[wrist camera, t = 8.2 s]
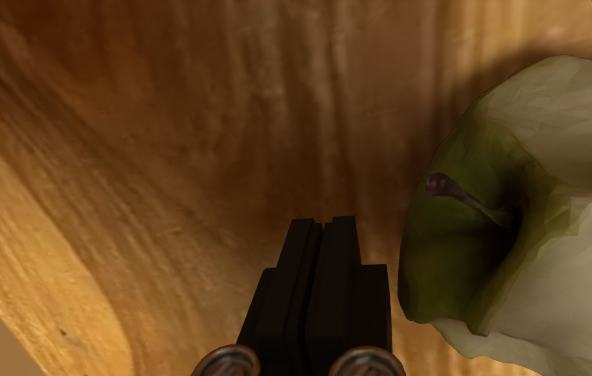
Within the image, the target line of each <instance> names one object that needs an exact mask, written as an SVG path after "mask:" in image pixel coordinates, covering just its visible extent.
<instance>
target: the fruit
mask: <svg viewBox="0 0 592 376" xmlns="http://www.w3.org/2000/svg"><path fill="white" fill-rule="evenodd" d="M397 295H398V299H399V303H400V306H401V308H402V310H403V312H404V314H405V316H406V318H407V319H408V320H410V321H413V320H414V321H415V322H416V323H418V324H425V323H429V324H431V325H433V326H434V327H435V328H436V329H437V330H438V331H439V332H440V333H441V335H442V336H443V338H444V339H445V341H446V342H448V343H449V344H450V345H451V346H452V347H453V348H454V349H455V350H456V351H457V352H458V353H460V354H461V355H463V356H464V357H466V358H470V359H473V358H475V357H478V356H487V357H489V358H492V359H494V360H497V361H500V362H504V363H512V364H517V365H520V366H523V367H526V368H528V369H531V370H533V371H535V372H537V373H539V374H541V375H543V376H592V61H591V60H589V59H586V58H581V57H576V56H570V55H556V56H552V57H548V58H546V59H543V60H540V61H538V62H536V63H534V64H532V65H530V66H528V67H526V68H524V69H522V70H520V71H518V72H516V73H514V74H512V75H511V76H510V77H508V78H507V79H506V80H505V81H503V82H502V83H501V84H499V85H497V86H495V87H493V88H491V89H489V90H487V91H485V92H484V93H482V94H481V95H480V96H479V97H477V98H476V99H475V100H474V101H473V103H472V104H471V105H470V107H469V108H468V109H467V110H466V111H465V112H464V113H463V114H462V116H461V119H460V121H459V122H458V124H457V125H456V126H455V128H454V129H453V130H452V132H451V133H450V134H449V135H448V136H447V137H446V138H445V139H444V140H443V141H442V143H441V144H440V146H439V147H438V149H437V150H436V152H435V154H434V156H433V158H432V160H431V162H430V164H429V166H428V168H427V169H426V171H425V173H424V175H423V177H422V179H421V181H420V182H419V184H418V186H417V188H416V191H415V194H414V197H413V199H412V202H411V205H410V207H409V210H408V213H407V216H406V221H405V226H404V231H403V236H402V241H401V247H400V258H399V269H398V294H397Z"/></svg>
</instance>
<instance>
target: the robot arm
mask: <svg viewBox="0 0 592 376" xmlns="http://www.w3.org/2000/svg"><path fill="white" fill-rule="evenodd" d="M190 376H406V373H405V370H404V368H403V366H402V364H401V362H400V361H399V360H398V359H397V358H396V357H395V356H394V355H393V354H392V323H391V304H390V291H389V281H388V272H387V265H386V264H374V265H362V264H361V257H360V249H359V242H358V235H357V228H356V221H355V217H354V216H338V217H333V220H332V222H328V223H326V224H325V228H324V233H323V228H322V224H321V223H315V221H314V219H313V218H304V219H293V220H292V221H291V224H290V227H289V230H288V233H287V236H286V239H285V242H284V245H283V248H282V251H281V254H280V257H279V260H278V263H277V266H276V268H266V269H264V271H263V273H262V275H261V278H260V280H259V283H258V286H257V288H256V291H255V294H254V297H253V299H252V302H251V305H250V307H249V310H248V313H247V315H246V318H245V321H244V324H243V326H242V329H241V332H240V334H239V337H238V340H237V342H236V344H230V345H226V346H222V347H219V348H217V349H215V350H213V351H211V352H210V353H209V354H207V355H206V356H205V357H204V358H202V360H201V361H200V362H199V363H198V365H197V366H196V367H195V369H194V370H193V372H192V374H191V375H190Z"/></svg>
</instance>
